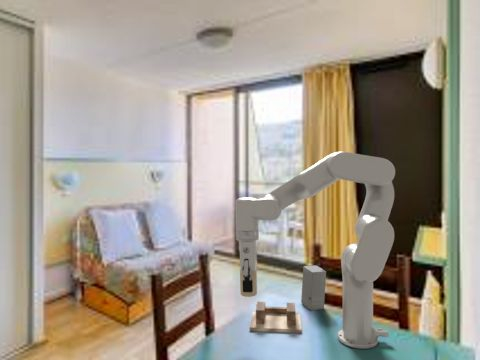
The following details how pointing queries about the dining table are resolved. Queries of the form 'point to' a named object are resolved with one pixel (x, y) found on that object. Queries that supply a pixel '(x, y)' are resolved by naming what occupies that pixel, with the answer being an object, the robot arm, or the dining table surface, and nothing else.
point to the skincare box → (313, 287)
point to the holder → (276, 319)
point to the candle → (254, 280)
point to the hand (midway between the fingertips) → (248, 288)
